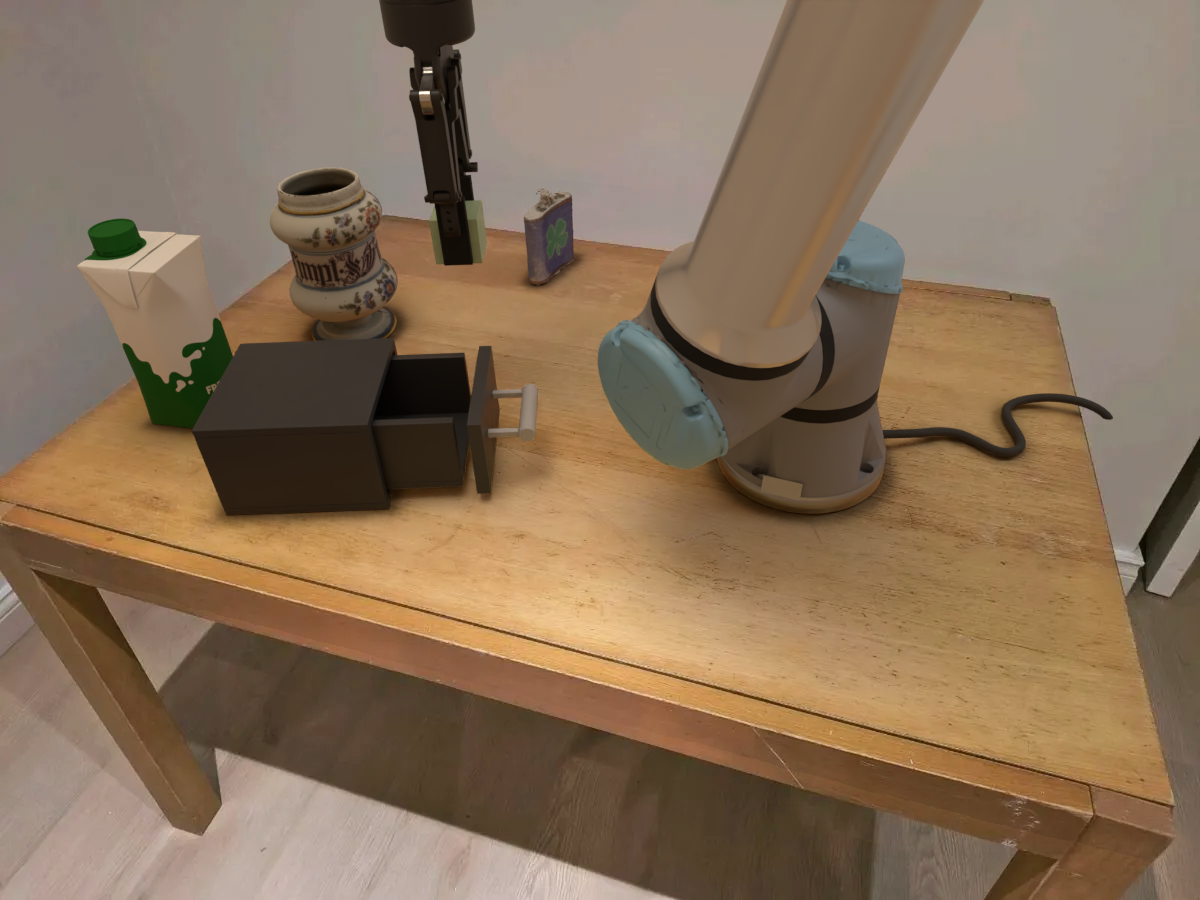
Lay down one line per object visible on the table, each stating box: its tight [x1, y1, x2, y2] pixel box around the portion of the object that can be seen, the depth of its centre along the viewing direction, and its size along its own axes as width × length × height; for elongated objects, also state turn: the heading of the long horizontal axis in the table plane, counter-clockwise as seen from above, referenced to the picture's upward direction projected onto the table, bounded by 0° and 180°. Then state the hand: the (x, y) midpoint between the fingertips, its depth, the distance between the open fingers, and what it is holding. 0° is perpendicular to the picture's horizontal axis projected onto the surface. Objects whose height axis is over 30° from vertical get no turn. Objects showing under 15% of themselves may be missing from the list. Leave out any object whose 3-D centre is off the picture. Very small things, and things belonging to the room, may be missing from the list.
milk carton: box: [76, 218, 234, 429], centre depth 85 cm, size 9×9×20 cm
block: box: [428, 199, 488, 265], centre depth 84 cm, size 4×4×4 cm
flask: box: [523, 187, 575, 287], centre depth 109 cm, size 9×3×11 cm, turn 150°
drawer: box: [371, 345, 539, 495], centre depth 80 cm, size 18×12×8 cm
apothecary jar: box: [269, 166, 399, 341], centre depth 97 cm, size 12×12×18 cm
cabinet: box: [191, 337, 398, 516], centre depth 80 cm, size 15×14×10 cm
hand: (462, 250), depth 85 cm, fingers closed on block, 4 cm apart
